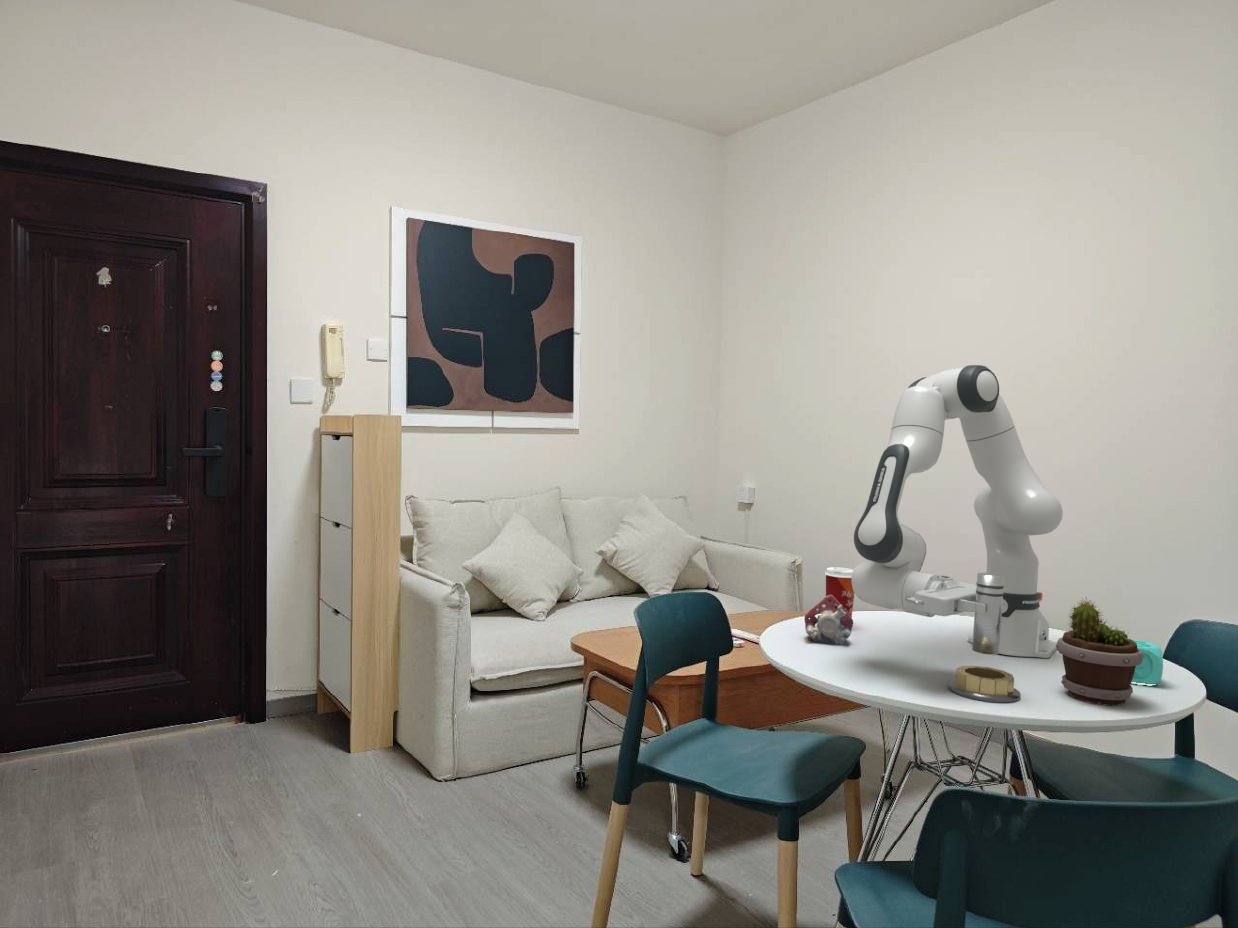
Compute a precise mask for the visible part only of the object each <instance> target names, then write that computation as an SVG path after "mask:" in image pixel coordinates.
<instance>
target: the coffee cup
mask: <svg viewBox="0 0 1238 928" xmlns="http://www.w3.org/2000/svg"><path fill="white" fill-rule="evenodd" d="M853 570H854V568H849V567H848V568H847V567H841V566H840V567H839V566H833V567H832V566H831V567H827V568H826V570H825V572H824V575H825V597H826V596H828V595H833V596H834V597H835V599H836V600H837V601H838V602H839V603H840V604H841V605H842V607H843V608H844V609H845V610H846V612H847V613H848V614H849V615H850V616H851V618H852V617H853V609H854V602H855V601H854V600H855V593H854V591H853V588H852V582H851V578H852V573H853ZM829 601H831V599H830V600H829ZM834 608H835V609H837V608H838V606H836V605H835V606H834ZM833 613H834V612H833ZM842 619H843V618H842V617H841V618H840V625H841V620H842ZM852 619H853V618H852Z"/></svg>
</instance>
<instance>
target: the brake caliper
mask: <svg viewBox="0 0 1238 928" xmlns="http://www.w3.org/2000/svg"><path fill="white" fill-rule="evenodd" d="M830 599H831V601H829V600H830ZM823 605H825V607H824V606H823ZM835 605H836V606H838V608H837V609H835V608H834V606H835ZM833 612H834V613H833ZM821 613H822V614H821ZM816 616H817V617H816ZM841 617H842V618H843V619H842V620H841V625H840V618H841ZM853 625H854V619H853V618H851V616H850V615H849V614H848V613H847V612H846V610H845V609H844V608H843V607H842V605H841V604H840V603H839V602H838V601H837V600H836V599H835V597H834V596H833V595H828V596H826V595H825V597H824V598H822V599H821V600H820V601H819V602H818V603H817V604H815V605H814V606H813V607H812V608H811V609H809V610H808V611H807V613H806V614H805V615H804V627H805V629H804V630H805V633H806V634H807V636H806V637H804V640H805V643H806V644H808V645H811V642H812V641H813V642H814V643H819V644H820V643H821V644H833V645H834V644H835V645H844V644H845V642H846V641H847V640H848V639H849V637H850V636H851V634H852V629H853Z"/></svg>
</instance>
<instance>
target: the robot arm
mask: <svg viewBox="0 0 1238 928" xmlns="http://www.w3.org/2000/svg"><path fill="white" fill-rule="evenodd" d="M954 419H959V420H960V421H959V422H960V426H961V430H962V432H963V436H964V438H965V442H966V444H967V447H968V451H969V454H970V456H971V460H972V462H973V466H974V467H975V470H976V472H977V473H978V474H979V475H980V476H981V477H982V478H983V479H984V481H985V483H987V485H988V486H987V487H984V488H982V489H981V490H980V491H979V492H978V493H977V495H976V496H975V499H974V502H973V503H974V504H973V509H974V513H975V514H976V517H977V518H978V520H979V521H980V524H981V527H982V531H983V537H984V542H985V548H986V573H993V574H999V575H1003V576H1004V588H1003V602H1002V616H1001V630H1000V644H999V654H1001V655H1005V656H1013V657H1028V658H1029V657H1032V658H1043V659H1049V658H1051V656H1052V655H1053V654H1054V653H1055V652H1056V651H1058V650H1057V647H1056V644H1057V642H1055V641H1053V640H1049V634H1050V632H1049V631H1050V625H1049V621H1047V619H1046V617H1045V616H1044V615H1043V614H1042V612H1041V610H1040V609H1039V608H1040V602H1041V601H1042V600H1043V597H1044V595H1043V593H1042V592H1041V591H1038V578H1039V577H1038V576H1039V565H1040V564H1039V563H1040V562H1039V558H1038V557H1037V554H1036V553H1035V552H1034V549H1033V547H1032V544H1031V539H1030V536H1039V535H1047V534H1049V533H1052V532H1053V531H1054V530H1056V529H1057V528H1058V527H1059V525H1060V524H1061V522H1062V519H1063V514H1064V513H1063V511H1064V510H1063V505H1062V503H1061V502H1060V500H1059V499H1058V498H1057V497H1056V496H1055V495H1053V493H1052V492H1050V491H1049V489H1047V488H1046V486H1045V484H1044V483H1043V482H1042V481H1041V479H1040V477H1039V476H1038V475H1037V472H1036V471H1035V470H1034V468H1033V467H1032V465H1031V463H1030V462H1029V459H1028V457H1027V456H1026V455H1027V454H1025V451H1024V449H1023V445H1022V443H1021V440H1020V437H1019V434H1018V432H1017V429H1016V426H1015V423H1014V420H1013V418H1012V414H1011V412H1010V411H1009V408H1008V407H1007V404H1006V403H1005V401H1004V400H1003V398H1002V396H1001V394H1000V384H999V381H998V378H997V376H996V374H995V373H994V372H993V371H992V370H991V369H989V367H987V366H985V365H982V364H981V365H979V364H972V365H971V364H969V365H966V366H964V367H962V366H961V367H956V368H951V369H950V368H949V369H945V370H942V371H941V372H938V373H934V374H932V375H928V376H927V377H926V376H925V377H921V378H918V379H917V380H915V381H914V382H912V383H911V384H910V385H909V386H908V387H907V388H906V390H904V391H903V392H902V394H901V396H900V398H899V400H898V403H897V406H896V409H895V412H894V416H893V419H892V424H891V429H890V436H889V441H888V443H887V446H886V448H885V450H884V451H882V452H883V453H882V454H881V456H880V459H879V462H878V465H877V468H876V470H875V471H876V472H875V475H874V478H873V482H872V486H871V489H870V493H869V496H868V500H867V504H866V507H865V509H864V511H863V513H862V515H861V517H860V519H859V520H858V522H857V524H856V526H855V530H854V532H853V544H854V547H855V548H856V549H855V550H856V551H857V552H858V554H859V555H860V556H861V558H862V557H863V558H864V560H863V561H862V562H861V563H860V564H857V565H855V567H854V568H853V573H852V578H851V582H852V588H853V591H854V595H856V597H857V598H858V599H859V600H860V601H862V602H864V603H866V604H870V605H872V606H875V607H878V608H879V607H880V608H884V609H887V610H888V609H890V610H895V609H897V610H898V609H899V610H901V611H903V612H905V613H908V614H913V615H918V616H922V617H927V618H933V617H934V616H937V617H938V616H939V617H948V616H949V617H950V616H952V615H956V614H958V615H959V614H961V613H975V612H977V613H986V612H987V608H988V605H987V604H985V603H980V602H978V603H977V602H975V601H976V587H977V585H976V584H972V583H968V582H965V581H959V580H954V578H953V577H952V576H948V575H938V574H936V573H930V572H929V573H928V572H922V571H921V570H922V567H923V565H924V561H925V559H926V555H927V544H926V542H925V539H924V537H923V536H921V534H920V533H918V532H916V531H915V530H913V529H912V528H910V527H908V526H907V525H904V524H903V523H901V521H900V518H899V507H900V503H901V499H902V496H903V492H904V488H905V484H906V481H907V480H908V478H909V477H910V476H911V475H913V474H919V473H923V472H925V471H926V472H927V471H928V470H930V469H931V468H933V467H934V466H935V465H936V464H937V463H938V460H939V457H940V454H941V451H942V446H943V440H944V434H945V432H944V431H945V420H946V421H947V420H954ZM967 642H969V643H971V644H973V635H970V636H968V637H967ZM999 654H998V655H999Z"/></svg>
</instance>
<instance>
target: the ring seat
mask: <svg viewBox="0 0 1238 928" xmlns="http://www.w3.org/2000/svg"><path fill="white" fill-rule="evenodd" d="M947 684H948V685H947V688H948V690H949V691H950V692H952V693H953V694H956V695H957V696H960V697H963V698H966V699H970V700H974V701H979V702H984V703H985V702H987V703H994V704H1011V703H1016V702H1018V701H1020V700H1021V695H1022V694H1021V692H1020V691H1019V690H1018V689H1017V688H1015V677H1014V676H1013V674H1012V673H1010V672H1007V671H1005V670H1001V669H998V668H994V667H988V666H980V665H961V666H959V667H956V670H955V679H954V678H953V679H951V680H949V681H948V683H947Z"/></svg>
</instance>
